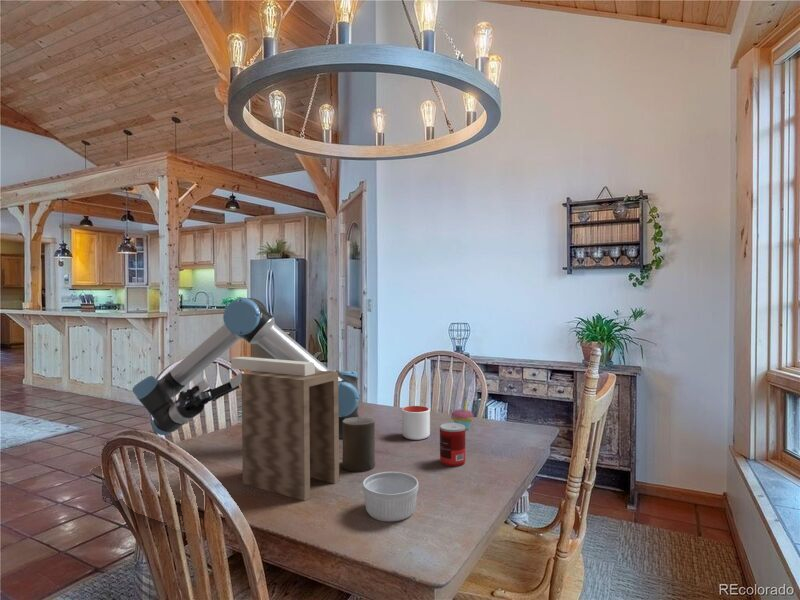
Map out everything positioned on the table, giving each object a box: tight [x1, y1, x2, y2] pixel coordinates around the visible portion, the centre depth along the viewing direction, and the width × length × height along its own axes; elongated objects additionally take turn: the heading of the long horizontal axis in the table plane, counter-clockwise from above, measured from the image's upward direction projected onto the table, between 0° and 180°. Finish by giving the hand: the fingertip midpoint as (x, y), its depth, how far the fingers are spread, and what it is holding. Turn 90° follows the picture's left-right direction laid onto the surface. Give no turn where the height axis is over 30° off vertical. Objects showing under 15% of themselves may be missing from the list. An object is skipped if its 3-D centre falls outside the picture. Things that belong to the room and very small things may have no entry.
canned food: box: [439, 422, 466, 467], centre depth 142 cm, size 8×8×11 cm
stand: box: [241, 370, 340, 501], centre depth 127 cm, size 22×14×30 cm, turn 60°
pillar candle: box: [342, 415, 376, 473], centre depth 139 cm, size 10×10×15 cm
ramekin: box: [362, 471, 419, 523], centre depth 110 cm, size 13×13×7 cm
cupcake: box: [450, 397, 475, 431], centre depth 178 cm, size 9×8×12 cm
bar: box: [230, 356, 315, 376], centre depth 130 cm, size 28×4×3 cm, turn 60°
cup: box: [401, 405, 431, 441], centre depth 168 cm, size 10×10×10 cm
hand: (226, 378), depth 140 cm, fingers open, 13 cm apart
